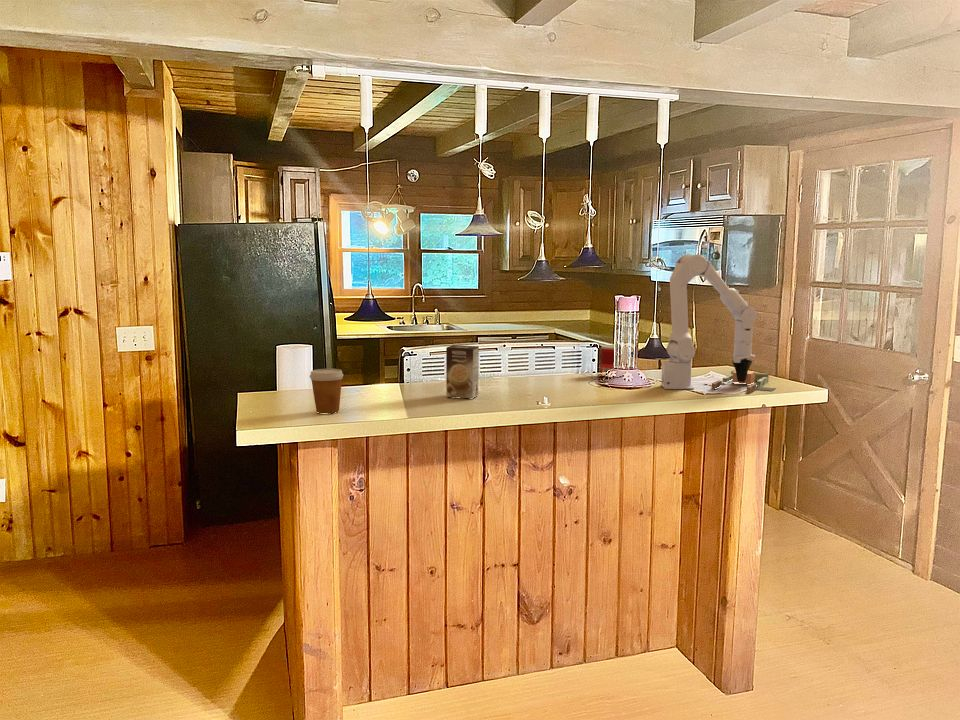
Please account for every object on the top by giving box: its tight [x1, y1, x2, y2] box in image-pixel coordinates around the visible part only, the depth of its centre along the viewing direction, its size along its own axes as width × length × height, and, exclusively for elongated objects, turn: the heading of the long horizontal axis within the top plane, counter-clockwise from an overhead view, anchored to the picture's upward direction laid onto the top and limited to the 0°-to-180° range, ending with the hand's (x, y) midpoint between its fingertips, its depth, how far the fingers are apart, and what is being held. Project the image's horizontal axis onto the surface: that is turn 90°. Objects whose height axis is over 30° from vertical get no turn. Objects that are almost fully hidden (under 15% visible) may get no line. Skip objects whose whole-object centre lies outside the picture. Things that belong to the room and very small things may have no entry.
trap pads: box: [755, 386, 777, 392], centre depth 256 cm, size 5×22×1 cm, turn 57°
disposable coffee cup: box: [309, 368, 344, 414], centre depth 218 cm, size 10×10×12 cm
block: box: [733, 370, 756, 384], centre depth 262 cm, size 6×6×4 cm
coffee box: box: [445, 344, 480, 399], centre depth 239 cm, size 9×6×16 cm
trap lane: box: [710, 370, 770, 394], centre depth 257 cm, size 24×12×3 cm, turn 147°
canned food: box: [600, 344, 615, 374], centre depth 277 cm, size 8×8×11 cm
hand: (741, 381), depth 258 cm, fingers closed
